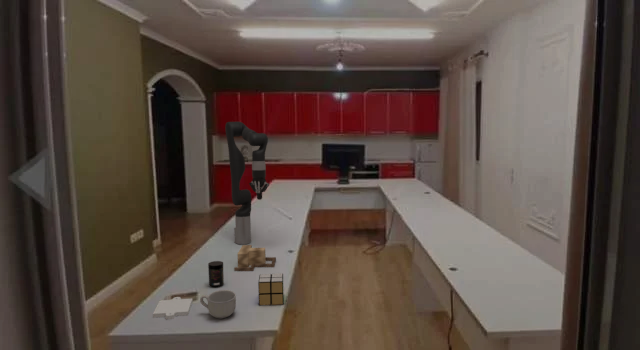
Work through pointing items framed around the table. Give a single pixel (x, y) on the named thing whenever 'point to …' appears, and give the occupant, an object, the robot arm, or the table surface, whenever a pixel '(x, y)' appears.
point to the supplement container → (216, 274)
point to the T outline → (257, 265)
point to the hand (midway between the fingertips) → (259, 199)
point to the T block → (251, 256)
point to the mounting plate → (173, 308)
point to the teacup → (220, 303)
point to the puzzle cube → (271, 289)
